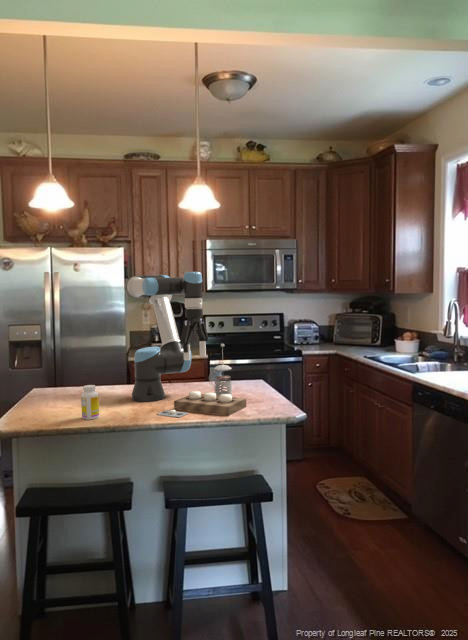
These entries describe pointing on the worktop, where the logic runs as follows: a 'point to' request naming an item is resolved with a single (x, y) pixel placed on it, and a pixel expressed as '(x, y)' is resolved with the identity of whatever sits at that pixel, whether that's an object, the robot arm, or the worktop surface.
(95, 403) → the supplement bottle
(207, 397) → the button
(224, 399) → the button
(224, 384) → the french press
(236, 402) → the board
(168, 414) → the card
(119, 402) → the worktop surface
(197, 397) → the button
